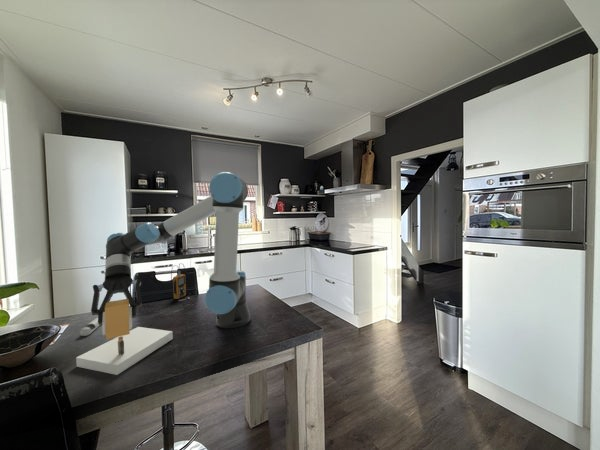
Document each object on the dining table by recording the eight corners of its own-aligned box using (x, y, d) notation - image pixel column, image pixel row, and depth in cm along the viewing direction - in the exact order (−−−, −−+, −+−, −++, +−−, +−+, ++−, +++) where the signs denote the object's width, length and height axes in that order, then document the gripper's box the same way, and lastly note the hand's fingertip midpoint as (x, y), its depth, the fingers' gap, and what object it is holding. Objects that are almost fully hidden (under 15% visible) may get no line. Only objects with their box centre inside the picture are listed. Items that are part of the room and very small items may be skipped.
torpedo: (91, 336, 97) (90, 320, 97) (76, 338, 96) (76, 322, 96) (111, 318, 114) (111, 305, 114) (99, 320, 113) (99, 306, 113)
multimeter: (184, 302, 134) (183, 267, 134) (168, 301, 136) (167, 266, 136) (200, 294, 149) (199, 262, 148) (186, 293, 151) (185, 261, 150)
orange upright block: (129, 327, 83) (128, 298, 82) (129, 334, 78) (128, 303, 77) (107, 332, 79) (106, 302, 79) (105, 339, 74) (104, 307, 74)
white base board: (172, 338, 94) (172, 317, 94) (117, 374, 73) (115, 347, 73) (138, 333, 99) (137, 313, 98) (76, 366, 77) (75, 340, 77)
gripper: (148, 271, 96) (152, 327, 83) (85, 279, 85) (78, 344, 72) (148, 260, 91) (153, 317, 79) (82, 266, 80) (74, 334, 68)
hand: (117, 330), depth 75 cm, fingers closed on orange upright block, 6 cm apart
